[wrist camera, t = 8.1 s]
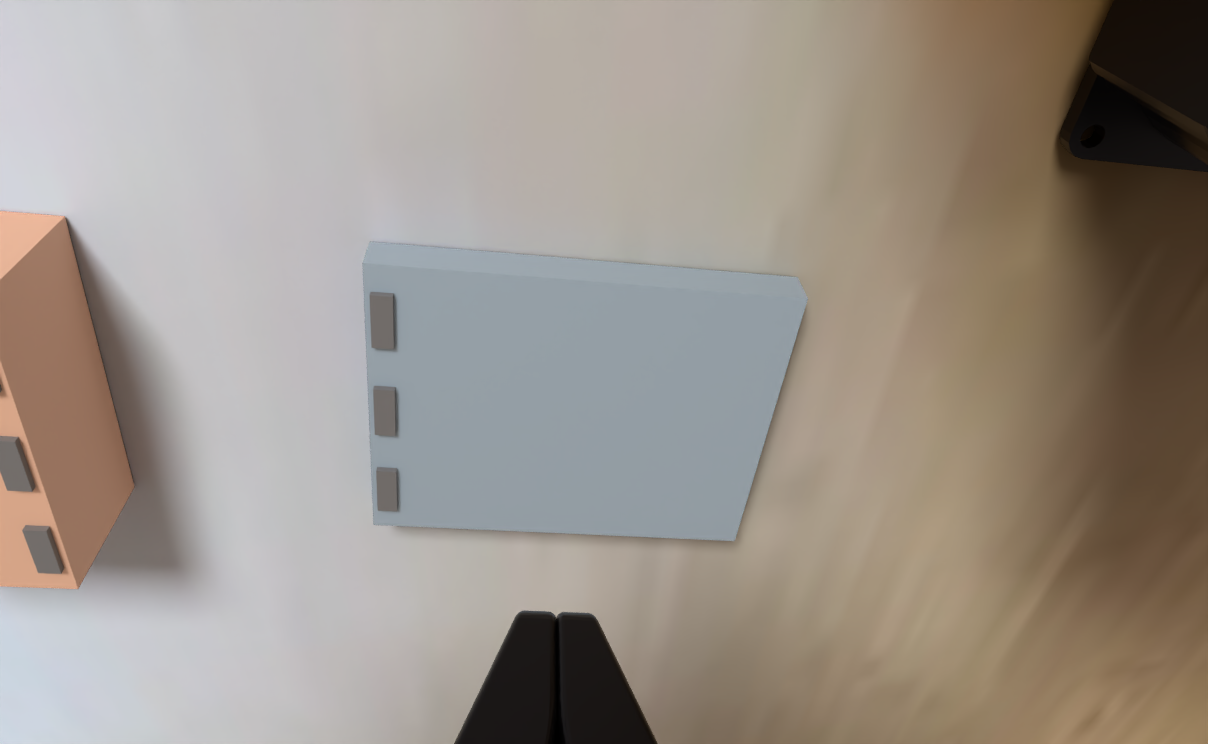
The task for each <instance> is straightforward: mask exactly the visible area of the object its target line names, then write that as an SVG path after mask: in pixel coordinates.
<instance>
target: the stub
mask: <svg viewBox="0 0 1208 744" xmlns="http://www.w3.org/2000/svg"><path fill="white" fill-rule="evenodd" d="M133 489H134V483H133V479H132V475H131V471H130V467H129V463H128V459H127V456H126V452H125V448H124V444H123V440H122V436H121V432H120V428H119V425H118V421H117V417H116V413H115V409H114V405H113V401H112V397H111V394H110V390H109V386H108V382H107V378H106V374H105V370H104V366H103V362H102V359H101V355H100V351H99V347H98V343H97V339H96V335H95V331H94V328H93V324H92V320H91V316H90V312H89V308H88V304H87V300H86V297H85V293H84V289H83V285H82V281H81V277H80V273H79V269H78V265H77V262H76V258H75V254H74V250H73V246H72V242H71V238H70V234H69V231H68V227H67V223H66V219H65V216H55V215H42V214H30V213H18V212H6V211H0V586H7V587H35V588H64V589H78V588H79V586H80V585H81V583H82V581H83V579H84V577H85V576H86V574H87V572H88V570H89V568H90V567H91V565H92V563H93V561H94V559H95V558H96V556H97V554H98V552H99V550H100V548H101V547H102V545H103V543H104V541H105V539H106V538H107V536H108V534H109V532H110V530H111V529H112V527H113V525H114V523H115V521H116V520H117V518H118V516H119V514H120V512H121V510H122V509H123V507H124V505H125V503H126V501H127V500H128V498H129V496H130V494H131V492H132V491H133Z"/></svg>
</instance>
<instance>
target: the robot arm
mask: <svg viewBox="0 0 1208 744" xmlns="http://www.w3.org/2000/svg"><path fill="white" fill-rule="evenodd" d="M1089 60H1090V65H1089V67H1088V69H1087V71H1086V74H1085V76H1084V78H1083V80H1082V83H1081V85H1080V87H1079V90H1078V92H1077V94H1076V96H1075V99H1074V101H1073V103H1072V105H1071V108H1070V110H1069V112H1068V115H1067V117H1066V119H1065V121H1064V124H1063V126H1062V129H1061V133H1060V141H1061V144H1062V146H1063V147H1064V148H1065V149H1066V150H1067V151H1069V152H1070V153H1071V154H1073V155H1074V156H1075V157H1078V158H1081V159H1089V160H1098V161H1108V162H1117V163H1127V164H1137V165H1146V166H1156V167H1165V168H1175V169H1185V170H1194V171H1204V172H1208V0H1114V1H1113V4H1112V6H1111V8H1110V11H1109V13H1108V15H1107V17H1106V20H1105V22H1104V24H1103V27H1102V29H1101V31H1100V33H1099V36H1098V38H1097V40H1096V43H1095V45H1094V47H1093V49H1092V52H1091V54H1090V57H1089ZM1092 125H1095V130H1094V132H1093V133H1092V135H1091V136H1090V137H1089V138H1087V139H1086V140H1084V141H1080V140H1081V135H1082V134H1083V133H1084V131H1085V130H1086V129H1087V128H1089V127H1090V126H1092ZM454 744H658V743H657V741H656V739H655V737H654V735H653V733H652V731H651V729H650V727H649V725H648V723H647V721H646V719H645V717H644V714H643V712H642V710H641V708H640V706H639V704H638V702H637V700H636V698H635V696H634V694H633V692H632V690H631V688H630V686H629V684H628V682H627V680H626V678H625V675H624V673H623V671H622V669H621V667H620V665H619V663H618V661H617V659H616V657H615V655H614V653H613V651H612V649H611V647H610V645H609V643H608V641H607V639H606V636H605V634H604V632H603V630H602V628H601V626H600V624H599V622H598V620H597V619H596V618H595V616H594V615H592V614H590V613H571V612H562V613H560V614H558V616H557V617H555V615H554V614H553V613H551V612H546V611H521V612H519V613H518V614H517V615H516V617H515V619H514V621H513V623H512V625H511V627H510V629H509V631H508V633H507V635H506V637H505V640H504V642H503V644H502V646H501V648H500V650H499V652H498V654H497V656H496V658H495V660H494V662H493V664H492V666H491V669H490V671H489V673H488V675H487V677H486V679H485V681H484V683H483V685H482V687H481V689H480V691H479V693H478V695H477V698H476V700H475V702H474V704H473V706H472V708H471V710H470V712H469V714H468V716H467V718H466V720H465V722H464V725H463V727H462V729H461V731H460V733H459V735H458V737H457V739H456V741H455V743H454Z"/></svg>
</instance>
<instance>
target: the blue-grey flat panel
mask: <svg viewBox="0 0 1208 744" xmlns="http://www.w3.org/2000/svg"><path fill="white" fill-rule="evenodd" d="M363 286H364V310H365V334H366V357H367V381H368V405H369V429H370V452H371V476H372V500H373V523H374V525H389V526H411V527H433V528H455V529H478V530H500V531H522V532H544V533H567V534H589V535H611V536H633V537H656V538H678V539H700V540H722V541H735V538H736V535H737V532H738V528H739V525H740V522H741V518H742V515H743V512H744V508H745V505H746V502H747V499H748V495H749V492H750V489H751V485H752V482H753V479H754V475H755V472H756V469H757V465H758V462H759V459H760V456H761V452H762V449H763V446H764V442H765V439H766V436H767V432H768V429H769V426H770V422H771V419H772V416H773V412H774V409H775V406H776V403H777V399H778V396H779V393H780V389H781V386H782V383H783V379H784V376H785V373H786V369H787V366H788V363H789V360H790V356H791V353H792V350H793V346H794V343H795V340H796V336H797V333H798V330H799V326H800V323H801V320H802V317H803V313H804V310H805V307H806V303H807V300H808V298H807V296H806V294H805V292H804V290H803V287H802V285H801V283H800V281H799V279H798V277H790V276H778V275H766V274H754V273H742V272H730V271H718V270H705V269H693V268H681V267H669V266H657V265H645V264H633V263H621V262H609V261H597V260H585V259H573V258H561V257H549V256H537V255H525V254H513V253H501V252H488V251H476V250H464V249H452V248H440V247H428V246H416V245H404V244H392V243H380V242H370V243H369V246H368V249H367V252H366V255H365V257H364V260H363Z"/></svg>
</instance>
